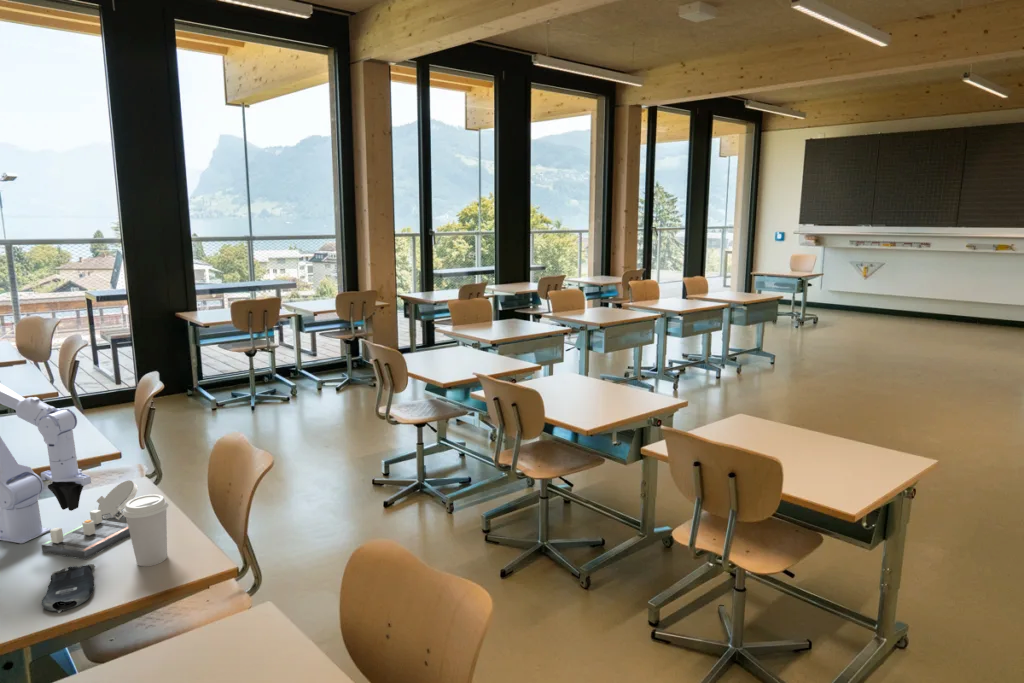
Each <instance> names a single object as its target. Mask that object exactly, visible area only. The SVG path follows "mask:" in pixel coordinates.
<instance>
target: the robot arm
mask: <svg viewBox="0 0 1024 683" xmlns="http://www.w3.org/2000/svg"><path fill="white" fill-rule="evenodd" d="M40 399H41V398H39V397H37V396H34V397H33V396H29V397H24V396H22V395H21V394H19V393H18V392H16V391H14V390H12V389H11V388H10V387H8V386H6V385H4V384H3V383H2V382H1V381H0V405H3V406H5V407H7V408H10V409H12V410H15V415H16V416H17V417H18V418H19V419H20V420H21V419H22V420H23V421H25V422H27V423H30V424H31V425H33V426H35V427H37V430H38V432H39V433H40V434H41V435H42V436H41V437H43V442H44V443H45V444H46V448H47V452H48V453H47V455H48V459H49V460H48V462H49V467H50V468H49V469H50V470H48V469H47V470H45V471H42V472H40V475H38V474H37V473H35V472H34V470H33V469H32V467H31V466H27V465H24V464H23V465H22V464H20V463H18V461H17V460H16V459H15V457H14V456H13V454H12V452H11V450H10V449H9V448H8V446H7V444H6V443H5V441H4V439H3V438H2V437H1V436H0V541H4V542H10V543H17V544H24V543H26V542H28V541H30V540H34V539H35V538H38V537H40V536H42V535H44V534H46V533H49V532H50V530H52V528H49V527H43V525H42V524H43V523H42V519H41V517H42V516H41V513H40V505H39V499H41V494H42V493H43V491H44V488H45V484H44V481H47V480H48V481H52V482H51V483H50V484H48V485H47V489H48V490H49V491H50V492H51V493H52V494H53V495H54V497H55V498H56V500H57V502H58V504H59V507H60V508H61V509H62V510H66V509H68V511H69V512H70V511H71V512H73V511H74V510H76V509H78V508H79V506H80V505H79V504H80V499H81V494H82V491H83V489H84V487H85V486H87V485H89V484H92V479H91V478H92V477H91V475H88V474H85V473H83V470H82V469H83V468H82V469H81V468H79V465H78V460H77V459H78V458H77V453H76V444H75V443H76V442H75V436H74V431H73V430H74V429H76V427H77V425H78V418H77V416H76V414H75V412H73V411H72V410H71V409H70V408H67V407H64V408H56V407H55V406H53V405H50V404H47V403H46V402H45V401H42V400H40Z"/></svg>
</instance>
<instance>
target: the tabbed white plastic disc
mask: <svg viewBox="0 0 1024 683" xmlns="http://www.w3.org/2000/svg"><path fill="white" fill-rule="evenodd" d="M138 488H139V486H138V485H137V484H136V483H135V482H133V481H132V480H125V481H123V482H121V483H118V485H116V486H115V487H114V488H113V489H111V490H110V492H108V493H107V494H106V495H105V497H104V496H103V495H101V496H100V497H99V498H97V500H96V503H98V507H97V510H101V515H102V519H103V520H108V519H112V518H115V519H117V520H120V519H121V518H122V517H124V516H123V510H124V508H125V506H126V503H127V502H128V501H130V500H132V499H134V498H136V495H137V493H138Z"/></svg>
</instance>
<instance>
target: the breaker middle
mask: <svg viewBox="0 0 1024 683" xmlns="http://www.w3.org/2000/svg"><path fill="white" fill-rule="evenodd" d="M81 523H82V524H81V525H83V531H84V535H92V534H94V533H95V525H94V521H92V520H91V519H87V520H84V521H83V522H81Z"/></svg>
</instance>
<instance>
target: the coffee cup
mask: <svg viewBox="0 0 1024 683" xmlns="http://www.w3.org/2000/svg"><path fill="white" fill-rule="evenodd" d="M168 507H169V503H168V501H167V499H165V498H164V496H163V495H161V494H157V493H155V494H144V495H140V496H137V497H136V496H135V497H134V498H133V499H132V500H130V501H128V502H127V503H126V506H125V508H124V509H123V510H122V513H123V516H122V517H125V520H126V524H128V528H129V532H130V536H129V537H130V540H131V544H132V548H133V552H134V556H135V562H136V565H138V566H140V567H150V566H155V565H159V564H160V563H162V562H164V561H165V560H166V559H167V558H168V537H167V534H168V531H167V528H168V527H167V524H168V522H167V521H168V520H167V509H168Z"/></svg>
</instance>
